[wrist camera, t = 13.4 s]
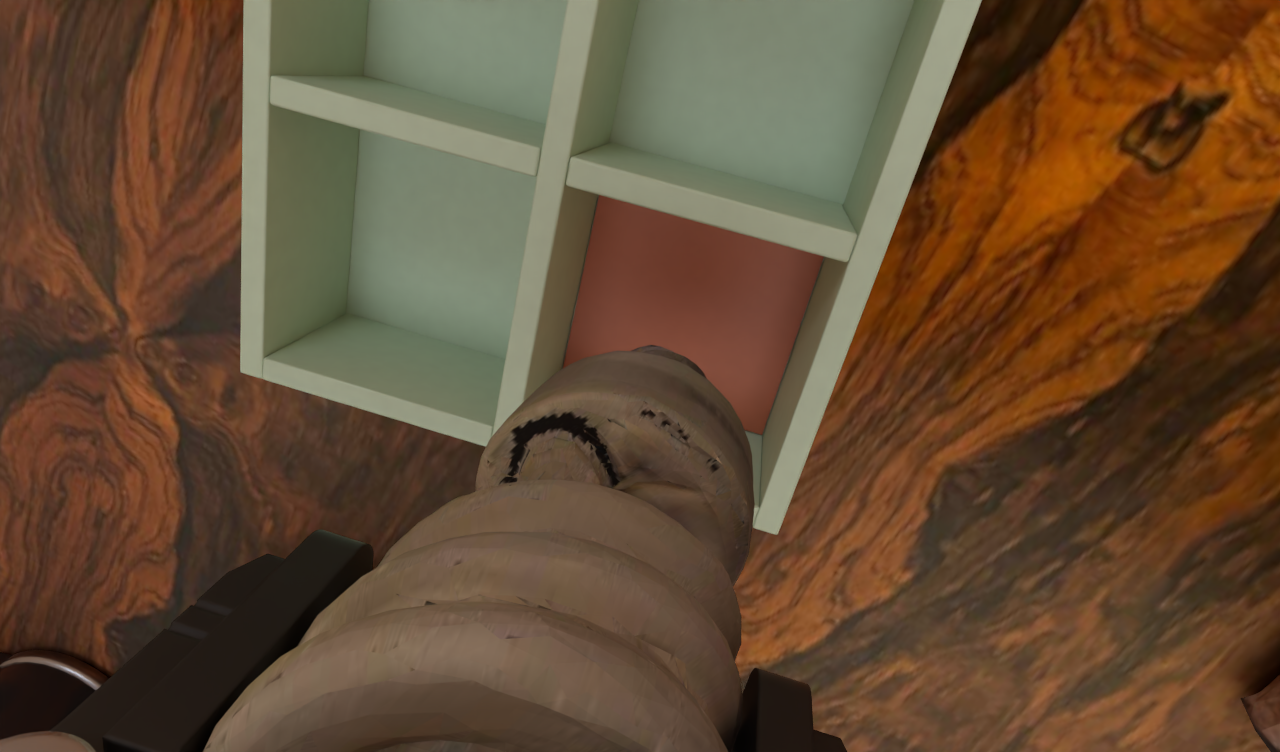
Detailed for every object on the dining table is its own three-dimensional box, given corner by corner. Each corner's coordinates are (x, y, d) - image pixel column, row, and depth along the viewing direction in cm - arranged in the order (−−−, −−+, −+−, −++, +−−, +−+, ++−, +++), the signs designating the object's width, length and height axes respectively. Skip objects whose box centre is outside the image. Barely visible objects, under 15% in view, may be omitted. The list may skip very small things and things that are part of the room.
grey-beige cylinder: (519, 374, 20) (1, 975, 7) (643, 228, 18) (257, 668, 5) (670, 500, 21) (480, 1278, 7) (807, 372, 19) (895, 1130, 5)
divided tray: (337, 319, 29) (239, 372, 24) (375, -235, 22) (245, -338, 16) (777, 449, 28) (777, 536, 22) (973, -94, 20) (1041, -154, 15)
